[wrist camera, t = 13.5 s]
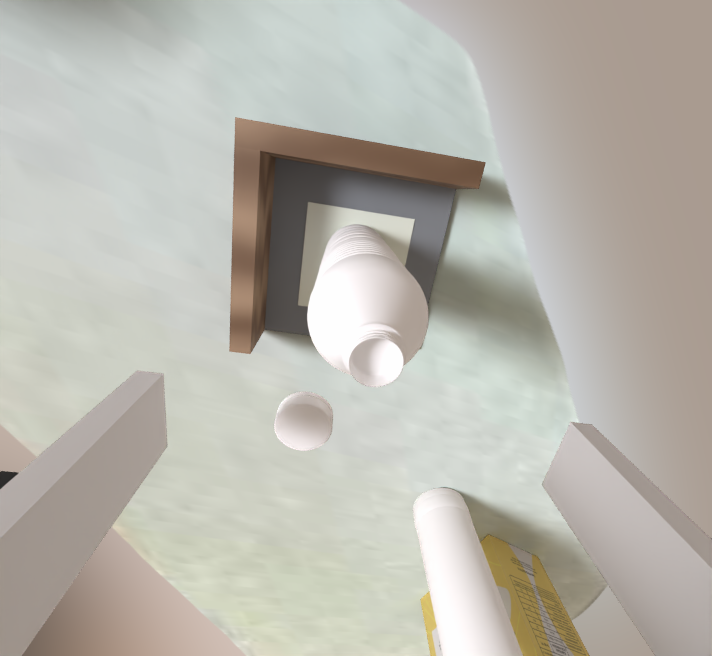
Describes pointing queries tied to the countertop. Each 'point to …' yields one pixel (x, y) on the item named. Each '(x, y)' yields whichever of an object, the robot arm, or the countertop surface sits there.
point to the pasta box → (522, 604)
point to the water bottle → (355, 326)
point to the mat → (338, 209)
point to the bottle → (460, 579)
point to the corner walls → (255, 199)
